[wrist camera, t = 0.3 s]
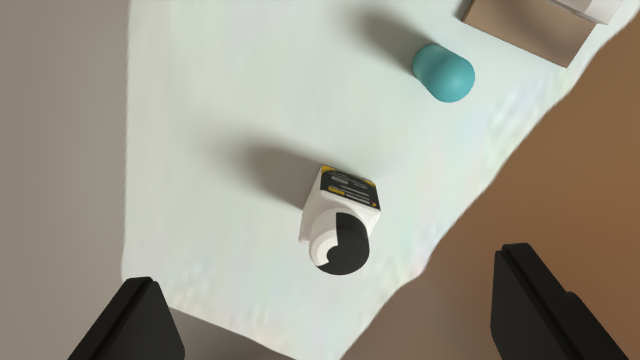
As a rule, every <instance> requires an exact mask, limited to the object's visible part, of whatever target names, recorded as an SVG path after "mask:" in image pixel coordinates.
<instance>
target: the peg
mask: <svg viewBox="0 0 640 360" xmlns="http://www.w3.org/2000/svg"><path fill="white" fill-rule="evenodd" d="M412 68H413V72H414V75H415V76H416V78H417V79H418V80H419V81H420V82H421V83H422V84H423V85H424V86H425V87H426V89H427V90H428V91H429V92H430V93H431V94H432V95H433V96H434V97H435V98H436V99H437V100H439V101H442V102H455V101H458V100H460V99H462V98H463V97H465V96H466V95H467V94H468V93H469V92H470V90H471V89H472V87H473V84H474V80H475V72H474V69H473V67H472V65H471V64H470V62H469V61H467V60H466V59H464V58H462V57H460V56H459V55H457V54H455V53H453V52H451V51H449V50H448V49H446V48H444V47H442V46H440V45H435V44H432V45H427V46H425V47H423V48H422V49H420V50H419V51H418V52H417V54H416V55H415V57H414V59H413V64H412Z"/></svg>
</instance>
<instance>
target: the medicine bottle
mask: <svg viewBox="0 0 640 360" xmlns="http://www.w3.org/2000/svg"><path fill="white" fill-rule="evenodd" d="M380 214H381V210H380V205H379V200H378V195H377V190H376V185H375V184H374V183H373V182H370V181H367V180H364V179H361V178H359V177H356V176H353V175H350V174H348V173H345V172H342V171H339V170H337V169H334V168H331V167H328V166H326V165H322V166H321V168H320V170H319V173H318V175H317V177H316V180H315V182H314V185H313V187H312V189H311V192H310V194H309V197H308V199H307V201H306V204H305V206H304V209H303V213H302V220H301V227H300V233H299V242H300V243H303V244H306V245H309V255H310V258H311V260H312V262H313V263H314V264H315V265H316V266H317V267H318V268H319V269H320V270H322V271H324V272H326V273H329V274H333V275H346V274H350V273H353V272H355V271H357V270H358V269H360V268H361V267H362V266H363V265H364V264H365V263H366V261H367V259H368V257H369V241H368V237H369V235H370V233H371V231H372V230H373V228H374V226H375V224H376V222H377V220H378V218H379V216H380Z"/></svg>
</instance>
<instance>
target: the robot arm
mask: <svg viewBox="0 0 640 360" xmlns="http://www.w3.org/2000/svg"><path fill="white" fill-rule="evenodd" d="M490 325H491V326H490V328H491V334H492V337H493V340H494V342H495V345H496V347H497V349H498V351H499V353H500V356H501V358H502V360H629V359H628V358H627V356H626V355H625V354H624V353H623V352H622V350H621V349H620V348H619V347H618V345H617V344H616V343H615V341H614V340H613V339H612V338H611V336H610V335H609V334H608V333H607V332H606V330H605V329H604V328H603V326H602V325H601V324H600V323H599V322H598V320H597V319H596V318H595V317H594V315H593V314H592V313H591V312H590V310H589V309H588V308H587V307H586V305H585V304H584V303H583V302H582V300H581V299H580V298H579V297H578V296H577V295H576V294H575V293H573V292H566V291H565V290H564V288H563V287H562V286H561V285H560V283H559V282H558V281H557V279H556V278H555V277H554V276H553V275H552V273H551V272H550V271H549V269H548V268H547V267H546V265H545V264H544V263H543V261H542V260H541V259H540V258H539V256H538V255H537V254H536V252H535V251H534V250H533V249H532V247H531V246H530V245H529V244H528V243H516V244H505V245H503V246H502V250H501V251H496V253H495V262H494V277H493V294H492V309H491V324H490ZM184 357H185V349H184V346H183V343H182V341H181V338H180V336H179V333H178V331H177V328H176V326H175V323H174V321H173V318H172V316H171V313H170V311H169V308H168V306H167V303H166V301H165V298H164V296H163V293H162V291H161V288H160V286H159V284H158V282H156V281H153V279H152V278H151V277H137V278H129V279H127V280H126V281H125V282H124V283H123V285H122V286H121V288H120V289H119V290H118V292H117V293H116V294H115V296H114V297H113V298H112V300H111V301H110V303H109V304H108V305H107V307H106V308H105V309H104V311H103V312H102V313H101V315H100V316H99V317H98V319H97V320H96V321H95V323H94V324H93V325H92V327H91V328H90V330H89V331H88V332H87V334H86V335H85V337H84V338H83V339H82V340H81V342H80V343H79V344H78V346H77V347H76V348H75V350H74V351H73V353H72V354H71V355H70V357H69V358H68V360H184Z"/></svg>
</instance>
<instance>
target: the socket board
mask: <svg viewBox="0 0 640 360" xmlns="http://www.w3.org/2000/svg"><path fill="white" fill-rule="evenodd" d="M623 2H624V0H472V2H471V3H470V5H469V7H468V9H467V11H466V13H465V15H464V17H463V19H462V21H461V22H463V23H465V24H468V25H470V26H472V27H474V28H477V29H479V30H481V31H483V32H486V33H488V34H490V35H492V36H495V37H497V38H499V39H501V40H503V41H506V42H508V43H510V44H512V45H515V46H517V47H519V48H521V49H524V50H526V51H528V52H530V53H533V54H535V55H537V56H539V57H542V58H544V59H546V60H548V61H550V62H553V63H555V64H557V65H559V66H562V67H565V68H567V67H568V66H569V64H570V63H571V61H572V60H573V58H574V57H575V55H576V54H577V52H578V51H579V49H580V48H581V46H582V45H583V43H584V42H585V40H586V39H587V37H588V36H589V34H590V33H591V31H592V30H593V28H594V27H595V25H596V24H597V23H598V24H606V25H608V24H609V22H610V21H611V19H612V18H613V16H614V15H615V13H616V12H617V10H618V9H619V7H620V6H621V4H622V3H623Z"/></svg>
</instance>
